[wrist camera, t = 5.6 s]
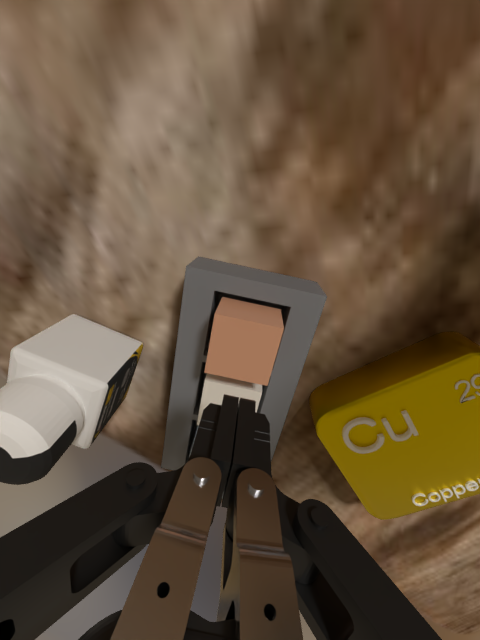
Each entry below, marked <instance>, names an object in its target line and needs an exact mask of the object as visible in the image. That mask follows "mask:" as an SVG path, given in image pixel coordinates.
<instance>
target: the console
mask: <svg viewBox="0 0 480 640" xmlns="http://www.w3.org/2000/svg"><path fill="white" fill-rule="evenodd" d="M222 297H226V298H231V299H235V300H240V301H245V302H249V303H254V304H258V305H263V306H268V307H272V308H277V309H281V314H282V320H283V325H284V330H283V334H282V337H281V341H280V344H279V348H278V351H277V355H276V358H275V362H274V365H273V369H272V372H271V376H270V379H269V383H268V386H265V385H262V395H261V399H260V402H259V406H258V409H257V413H260V414H265V416H266V418H267V419H268V421H269V423H270V450H271V461H272V458H273V455H274V452H275V449H276V446H277V443H278V440H279V437H280V434H281V431H282V428H283V425H284V422H285V419H286V416H287V413H288V410H289V407H290V405H291V402H292V399H293V396H294V393H295V390H296V387H297V384H298V381H299V378H300V375H301V372H302V369H303V366H304V363H305V360H306V357H307V354H308V351H309V348H310V345H311V342H312V339H313V336H314V333H315V330H316V327H317V325H318V322H319V319H320V316H321V313H322V310H323V307H324V304H325V301H326V298H327V296H326V294H325V293H324V292H323V290H322V289H321V287H320V286H319V285H318V283H317V282H314V281H310V280H305V279H300V278H296V277H291V276H286V275H282V274H277V273H273V272H268V271H263V270H259V269H254V268H249V267H245V266H240V265H235V264H231V263H226V262H222V261H217V260H212V259H208V258H203V257H197V258H196V259H195V260H193V261H192V262H191V263H190V264H188V265H187V266H186V272H185V280H184V288H183V296H182V304H181V312H180V320H179V328H178V336H177V344H176V352H175V360H174V368H173V376H172V384H171V392H170V400H169V408H168V416H167V424H166V432H165V440H164V448H163V456H162V464H161V468H165V469H169V470H177V469H179V468H181V467H182V466H183V465H185V464H186V462H187V461H188V459H189V456H190V451H191V448H192V445H193V441H194V438H195V435H196V431H197V428H198V425H197V420H198V415H199V409H200V404H201V398H202V392H203V387H204V381H205V378H206V375H207V373H204V371H205V366H206V360H207V354H208V349H209V343H210V337H211V332H212V326H213V321H214V315H215V312H216V310H217V307H218V305H219V303H220V301H221V298H222Z"/></svg>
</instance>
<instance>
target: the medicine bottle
mask: <svg viewBox="0 0 480 640" xmlns="http://www.w3.org/2000/svg"><path fill="white" fill-rule="evenodd" d="M142 348H143V343H142V342H140V341H138V340H135V339H133V338H131V337H128V336H126V335H123V334H121V333H119V332H116V331H114V330H112V329H109V328H107V327H104V326H102V325H100V324H97V323H95V322H92V321H90V320H88V319H85V318H83V317H81V316H78V315H76V314H72V315H70V316H68V317H66V318H65V319H63V320H61V321H59V322H58V323H56V324H54V325H52V326H51V327H49V328H47V329H45V330H43V331H42V332H40V333H38V334H36V335H35V336H33V337H31V338H29V339H28V340H26V341H24V342H22V343H21V344H19V345H17V346H15V347H14V348H13V349H12V350H11V354H10V362H9V370H8V378H7V384H6V385H5V386H3V387H2V388H1V389H0V482H3V483H8V484H17V485H19V484H26V483H30V482H33V481H37V480H39V479H41V478H43V477H44V476H45V475H47V473H48V472H49V471H50V470H51V468H52V467H53V466H54V465H55V463H56V462H57V461H58V460H59V458H60V457H61V456H62V455H63V453H64V452H65V451H66V450H67V449H68V447H69V446H70V445H71V444H72V445H74V446H77V447H80V448H82V449H88V448H89V447H90V446H91V444H92V443H93V442H94V440H95V439H96V437H97V436H98V435H99V433H100V432H101V430H102V429H103V428H104V426H105V425H106V423H107V422H108V421H109V419H110V418H111V417H112V415H113V414H114V412H115V411H116V410H117V408H118V407H119V405H120V404H121V403H122V401H123V400H124V398H125V397H126V395H127V392H128V389H129V386H130V383H131V380H132V377H133V374H134V371H135V369H136V366H137V363H138V360H139V357H140V354H141V351H142Z"/></svg>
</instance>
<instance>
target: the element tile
mask: <svg viewBox="0 0 480 640" xmlns="http://www.w3.org/2000/svg"><path fill="white" fill-rule="evenodd" d="M309 404H310V409H311V413H312V417H313V422H314V426H315V430H316V433H317V436H318V437H319V439H320V440H321V442H322V443H323V445H324V446H325V448H326V449H327V451H328V452H329V454H330V456H331V457H332V459H333V460H334V462H335V463H336V465H337V466H338V468H339V469H340V471H341V472H342V474H343V475H344V477H345V478H346V480H347V481H348V483H349V484H350V486H351V487H352V489H353V490H354V492H355V493H356V495H357V496H358V498H359V500H360V501H361V503H362V504H363V506H364V507H365V509H366V510H367V511H368V512H369V513H370V514H371V515H373V516H374V517H376V518H379V519H392V518H398V517H401V516H404V515H408V514H411V513H415V512H418V511H422V510H425V509H429V508H432V507H436V506H439V505H443V504H446V503H450V502H453V501H457V500H460V499H463V498H467V497H470V496H474V495H477V494H480V346H479V345H477V344H476V343H474V342H473V341H471V340H470V339H468V338H467V337H465V336H463V335H462V334H460V333H457V332H452V331H451V332H442V333H439V334H436V335H433V336H431V337H429V338H427V339H424V340H422V341H420V342H417V343H415V344H413V345H411V346H408V347H406V348H404V349H402V350H399V351H397V352H395V353H393V354H390V355H388V356H386V357H384V358H381V359H379V360H377V361H374V362H372V363H370V364H368V365H365V366H363V367H361V368H359V369H356V370H354V371H352V372H350V373H347V374H345V375H343V376H341V377H338V378H336V379H334V380H331V381H329V382H327V383H325V384H322V385H321V386H319V387H317V388H316V389H315V390H314V391H313V392H312V393H311V395H310V398H309Z"/></svg>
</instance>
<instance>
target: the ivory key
mask: <svg viewBox="0 0 480 640" xmlns="http://www.w3.org/2000/svg"><path fill="white" fill-rule="evenodd" d="M224 394H226V395H231V396H235V397H239V400H240V398H245V399H250V400H255V401H256V408H255V412H256V413H257V409H258V406H259V402H260V399H261V395H262V385H260V384H256V383H251V382H246V381H242V380H237V379H232V378H228V377H223V376H218V375H213V374H209V373H207V375H206V378H205V381H204V387H203V392H202V398H201V404H200V409H199V415H198V420H197V425H199V423H200V420H201V417H202V413H203V410H204V409H205V408H206V407H207V406H208V405H209V404H210V403H213V404H217V405H222V401H223V396H224ZM238 404H239V402H238Z"/></svg>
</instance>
